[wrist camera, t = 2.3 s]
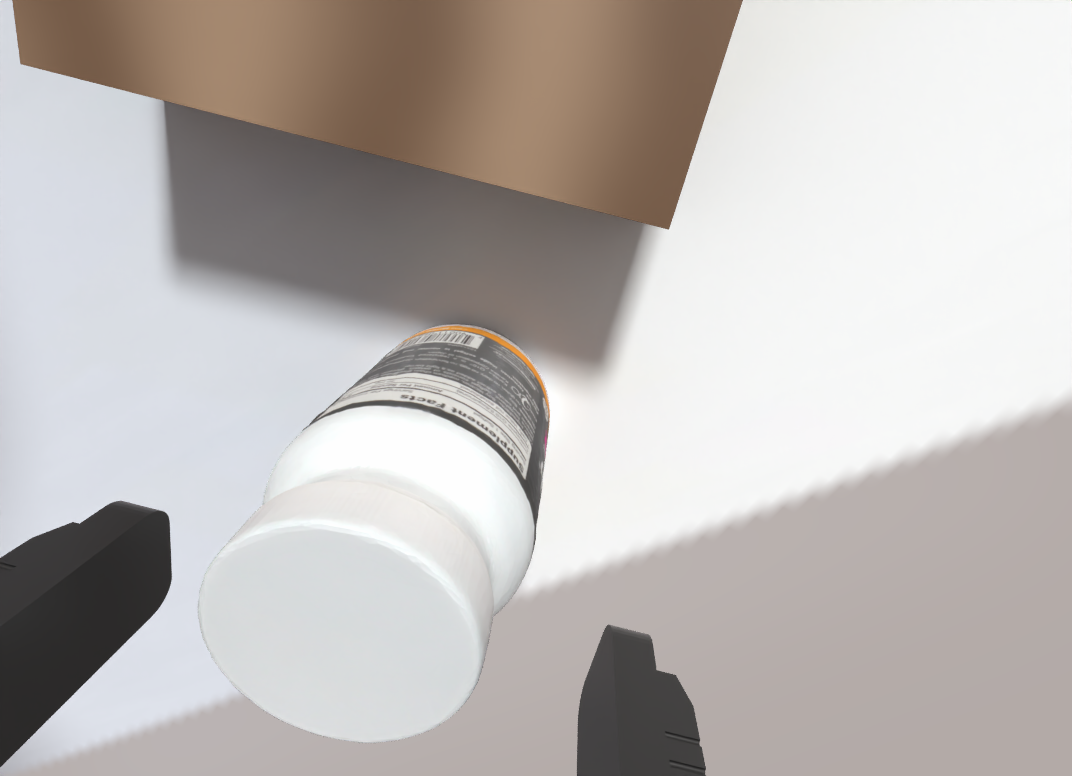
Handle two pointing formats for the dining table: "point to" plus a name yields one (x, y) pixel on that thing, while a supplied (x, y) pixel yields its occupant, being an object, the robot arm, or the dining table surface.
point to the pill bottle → (387, 542)
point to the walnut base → (428, 80)
